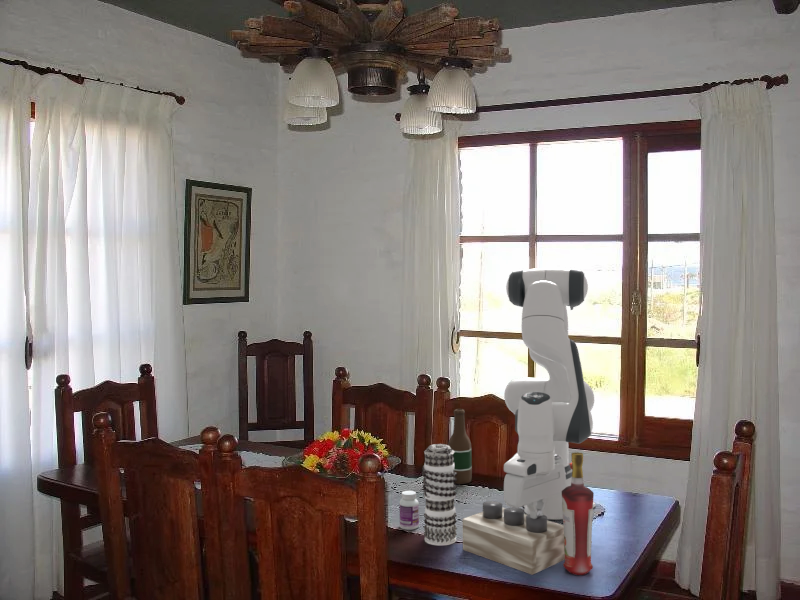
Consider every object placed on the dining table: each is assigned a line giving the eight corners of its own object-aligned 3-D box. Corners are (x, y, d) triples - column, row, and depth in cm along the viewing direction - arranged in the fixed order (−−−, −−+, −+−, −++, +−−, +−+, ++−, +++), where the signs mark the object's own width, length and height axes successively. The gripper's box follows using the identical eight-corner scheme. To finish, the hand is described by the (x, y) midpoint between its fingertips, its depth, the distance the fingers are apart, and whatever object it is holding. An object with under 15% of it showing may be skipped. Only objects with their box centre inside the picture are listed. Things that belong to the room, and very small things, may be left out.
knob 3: (534, 544, 191) (534, 512, 190) (551, 549, 187) (551, 517, 187) (522, 549, 187) (521, 517, 187) (538, 555, 184) (538, 522, 183)
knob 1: (491, 530, 201) (491, 500, 201) (506, 535, 197) (506, 504, 197) (479, 535, 198) (478, 504, 197) (493, 540, 194) (493, 508, 194)
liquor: (558, 565, 185) (557, 450, 183) (588, 564, 185) (588, 449, 184) (566, 578, 177) (566, 458, 176) (598, 577, 178) (597, 457, 176)
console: (498, 535, 205) (498, 506, 205) (567, 558, 189) (567, 526, 189) (462, 549, 196) (462, 518, 195) (532, 574, 180) (532, 541, 179)
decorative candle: (415, 539, 204) (414, 445, 203) (442, 531, 210) (440, 440, 208) (438, 549, 197) (436, 452, 195) (465, 540, 202) (463, 446, 201)
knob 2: (512, 537, 196) (512, 506, 195) (528, 542, 192) (528, 510, 192) (500, 542, 193) (499, 510, 192) (515, 547, 189) (515, 515, 188)
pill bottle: (417, 530, 210) (416, 496, 210) (397, 529, 211) (397, 495, 211) (420, 524, 216) (420, 490, 215) (401, 523, 217) (401, 489, 216)
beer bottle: (472, 484, 253) (471, 411, 251) (449, 484, 253) (448, 412, 251) (470, 477, 260) (470, 407, 259) (447, 477, 260) (446, 407, 259)
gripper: (551, 451, 195) (551, 504, 196) (498, 466, 182) (499, 524, 182) (572, 455, 191) (572, 510, 191) (520, 471, 177) (520, 530, 178)
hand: (536, 517), depth 187 cm, fingers closed, pressing on knob 3
